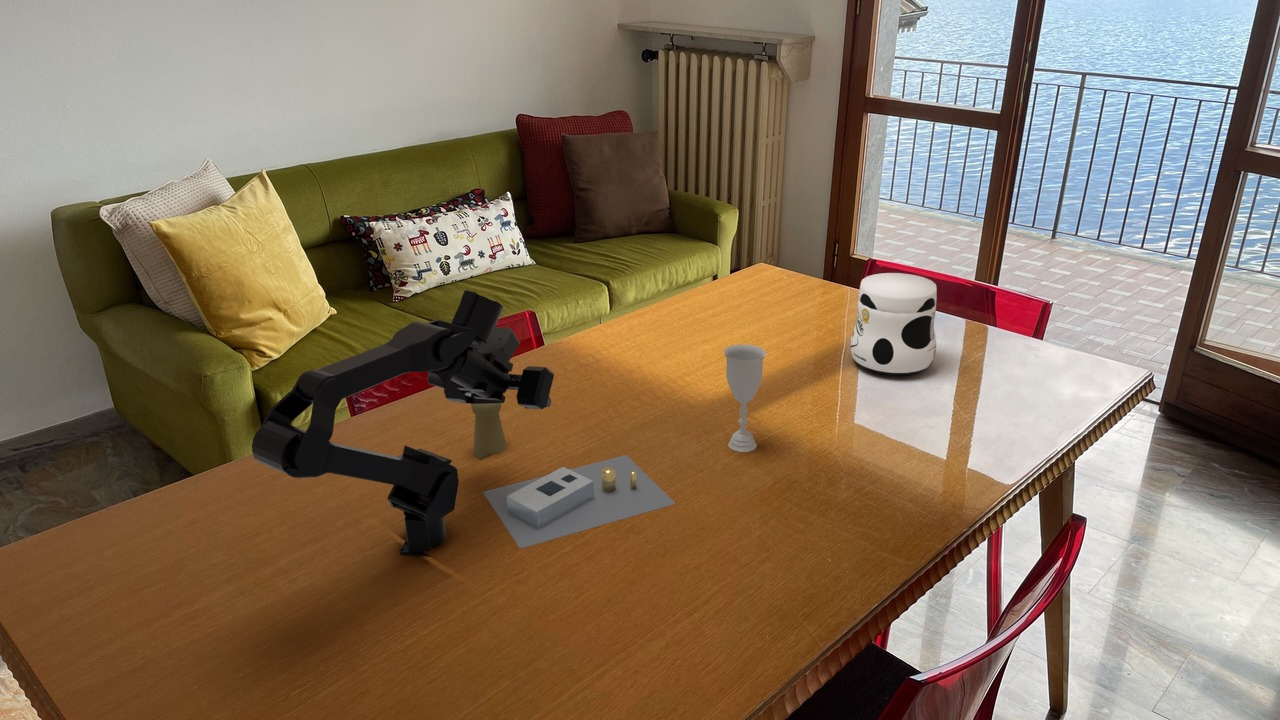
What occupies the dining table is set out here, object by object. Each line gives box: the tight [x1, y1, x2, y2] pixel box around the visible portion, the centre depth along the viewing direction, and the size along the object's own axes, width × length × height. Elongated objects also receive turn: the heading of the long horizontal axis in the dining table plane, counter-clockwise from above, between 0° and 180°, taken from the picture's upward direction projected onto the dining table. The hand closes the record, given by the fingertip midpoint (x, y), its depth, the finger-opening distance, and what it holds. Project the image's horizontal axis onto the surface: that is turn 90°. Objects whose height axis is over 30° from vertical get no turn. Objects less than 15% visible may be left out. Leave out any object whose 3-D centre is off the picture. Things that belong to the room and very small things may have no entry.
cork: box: [470, 403, 508, 460], centre depth 165 cm, size 6×6×11 cm
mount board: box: [482, 454, 677, 550], centre depth 151 cm, size 26×18×1 cm
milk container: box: [850, 272, 938, 376], centre depth 195 cm, size 17×17×18 cm
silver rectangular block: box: [507, 466, 594, 529], centre depth 148 cm, size 12×7×3 cm, turn 137°
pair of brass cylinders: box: [601, 467, 637, 493], centre depth 152 cm, size 6×2×4 cm, turn 92°
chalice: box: [723, 344, 767, 453], centre depth 164 cm, size 7×7×18 cm
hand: (526, 401), depth 154 cm, fingers open, 9 cm apart
